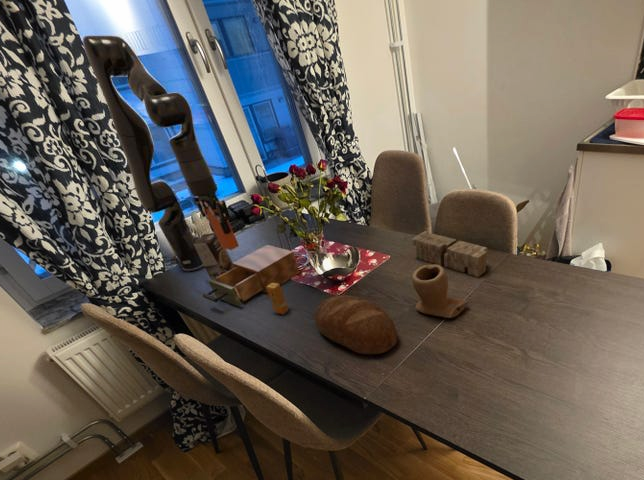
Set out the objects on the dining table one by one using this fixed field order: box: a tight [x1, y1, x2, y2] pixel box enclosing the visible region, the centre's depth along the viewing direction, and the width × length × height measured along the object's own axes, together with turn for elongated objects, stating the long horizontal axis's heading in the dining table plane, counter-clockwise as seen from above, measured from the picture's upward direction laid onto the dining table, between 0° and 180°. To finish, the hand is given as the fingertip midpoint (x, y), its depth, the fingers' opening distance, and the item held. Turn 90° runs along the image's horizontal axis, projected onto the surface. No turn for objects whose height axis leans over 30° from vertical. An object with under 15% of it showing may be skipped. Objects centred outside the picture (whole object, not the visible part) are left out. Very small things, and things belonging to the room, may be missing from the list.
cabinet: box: [232, 244, 301, 294], centre depth 144 cm, size 16×15×9 cm
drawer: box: [202, 267, 264, 307], centre depth 136 cm, size 20×14×7 cm, turn 146°
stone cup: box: [411, 264, 469, 319], centre depth 115 cm, size 15×12×15 cm
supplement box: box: [266, 283, 289, 315], centre depth 126 cm, size 3×3×10 cm
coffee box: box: [194, 232, 234, 281], centre depth 146 cm, size 9×6×16 cm
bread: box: [314, 294, 398, 355], centre depth 112 cm, size 16×29×11 cm, turn 50°
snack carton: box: [206, 208, 240, 251], centre depth 124 cm, size 5×3×13 cm, turn 55°
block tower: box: [411, 230, 488, 278], centre depth 141 cm, size 8×8×29 cm
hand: (222, 231), depth 124 cm, fingers closed on snack carton, 5 cm apart
